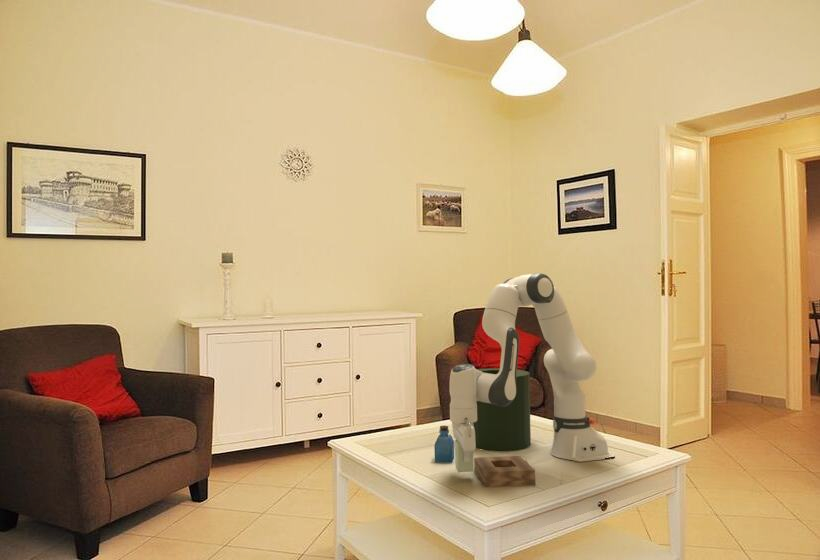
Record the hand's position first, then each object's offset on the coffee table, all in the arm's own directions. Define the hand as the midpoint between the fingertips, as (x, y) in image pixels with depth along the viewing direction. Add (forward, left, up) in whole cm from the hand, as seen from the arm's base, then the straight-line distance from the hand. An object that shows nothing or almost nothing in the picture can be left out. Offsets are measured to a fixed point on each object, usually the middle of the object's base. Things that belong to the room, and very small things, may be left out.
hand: (464, 458), depth 184 cm
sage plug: (0, 0, -4) cm, 4 cm away
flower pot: (-22, -42, -7) cm, 48 cm away
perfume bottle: (+3, -22, -7) cm, 23 cm away
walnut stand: (-13, 0, -7) cm, 14 cm away
